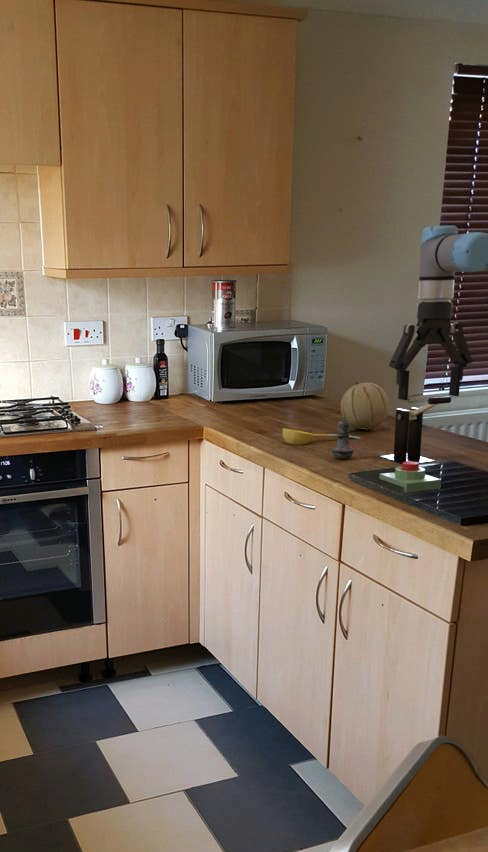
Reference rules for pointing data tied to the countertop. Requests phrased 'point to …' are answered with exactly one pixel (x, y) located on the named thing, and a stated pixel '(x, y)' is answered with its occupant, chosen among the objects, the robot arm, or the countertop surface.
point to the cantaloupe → (365, 405)
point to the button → (410, 466)
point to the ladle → (302, 436)
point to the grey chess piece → (343, 441)
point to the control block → (411, 480)
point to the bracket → (407, 439)
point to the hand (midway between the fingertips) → (428, 397)
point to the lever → (428, 406)
